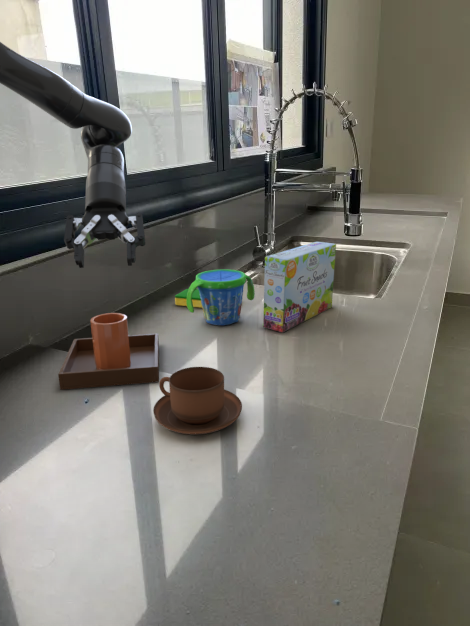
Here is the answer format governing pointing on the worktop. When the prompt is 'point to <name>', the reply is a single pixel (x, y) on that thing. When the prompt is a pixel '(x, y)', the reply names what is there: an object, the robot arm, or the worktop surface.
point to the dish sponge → (182, 298)
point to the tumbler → (111, 341)
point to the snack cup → (221, 295)
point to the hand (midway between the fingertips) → (105, 264)
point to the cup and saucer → (196, 402)
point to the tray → (85, 375)
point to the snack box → (298, 285)
